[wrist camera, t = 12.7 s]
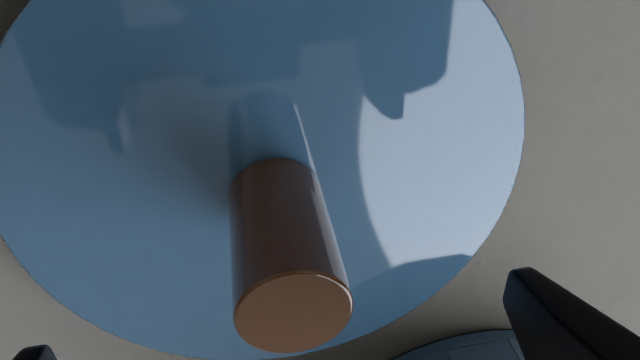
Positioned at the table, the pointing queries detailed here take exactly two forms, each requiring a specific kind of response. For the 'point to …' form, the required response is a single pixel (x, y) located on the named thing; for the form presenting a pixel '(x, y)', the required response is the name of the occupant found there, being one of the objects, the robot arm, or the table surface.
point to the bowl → (471, 348)
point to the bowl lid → (253, 163)
